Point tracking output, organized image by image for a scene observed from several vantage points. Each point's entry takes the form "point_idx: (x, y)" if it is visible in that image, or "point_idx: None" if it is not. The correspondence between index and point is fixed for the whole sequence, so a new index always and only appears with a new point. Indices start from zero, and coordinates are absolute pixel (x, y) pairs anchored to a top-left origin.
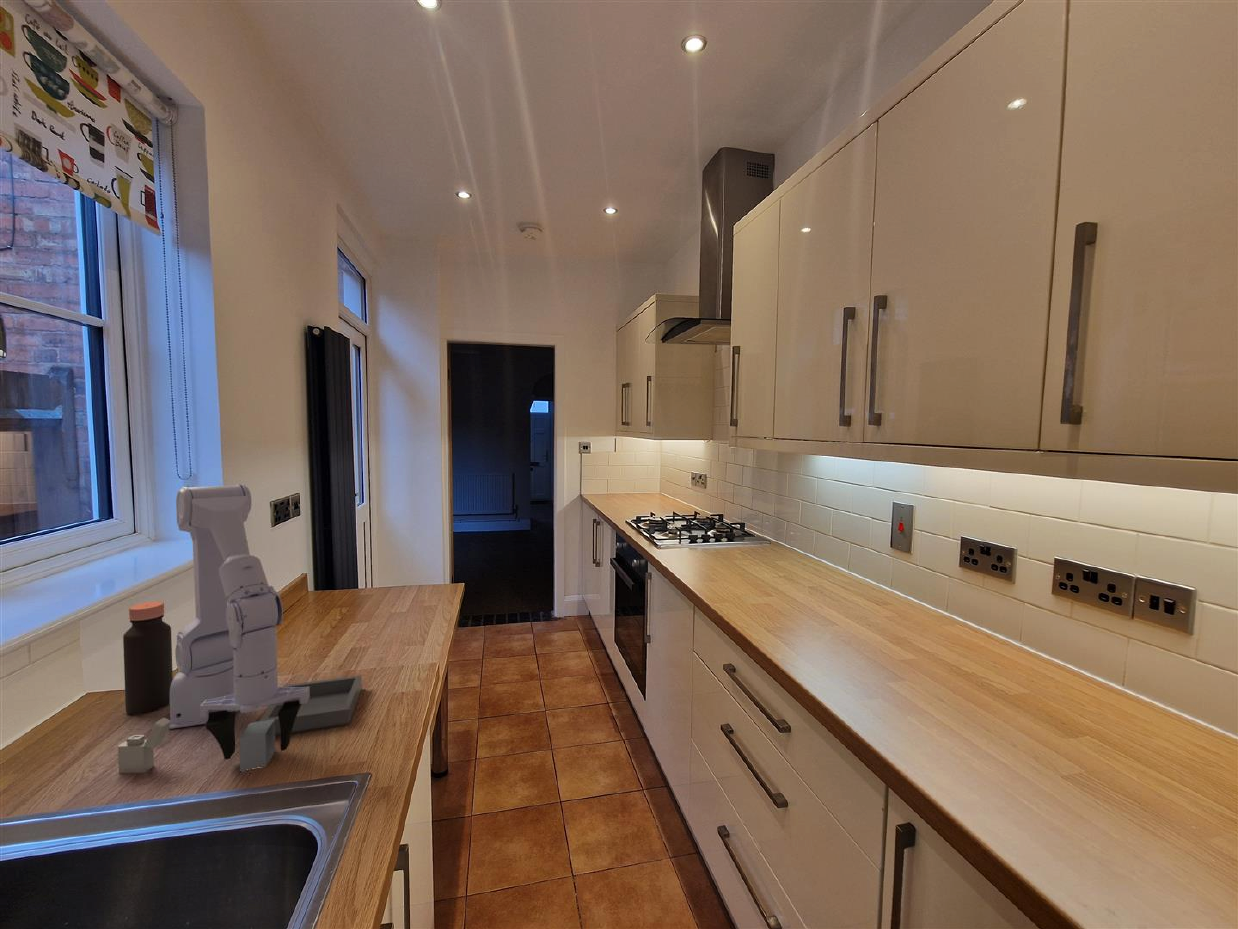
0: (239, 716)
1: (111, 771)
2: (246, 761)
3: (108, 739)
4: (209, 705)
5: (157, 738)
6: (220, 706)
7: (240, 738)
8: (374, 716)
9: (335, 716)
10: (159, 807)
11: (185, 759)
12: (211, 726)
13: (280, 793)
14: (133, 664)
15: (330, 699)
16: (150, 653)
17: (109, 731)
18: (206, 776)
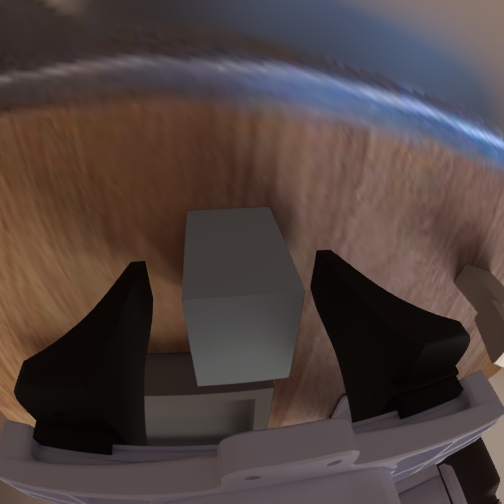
0: (327, 404)
1: None
2: (254, 226)
3: (481, 350)
4: (483, 425)
5: (499, 317)
6: (451, 433)
7: (298, 290)
8: (20, 365)
9: None
10: (437, 101)
11: (410, 295)
12: (449, 329)
13: (75, 44)
14: (482, 451)
15: (155, 429)
16: (471, 471)
17: (476, 364)
18: (361, 212)
